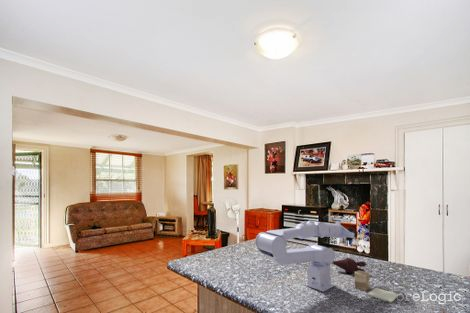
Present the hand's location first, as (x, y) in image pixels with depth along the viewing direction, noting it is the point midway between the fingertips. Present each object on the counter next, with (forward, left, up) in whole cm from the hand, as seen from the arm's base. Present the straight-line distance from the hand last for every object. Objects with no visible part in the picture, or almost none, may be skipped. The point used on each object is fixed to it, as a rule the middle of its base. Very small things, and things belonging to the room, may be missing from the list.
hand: (348, 231), depth 118 cm
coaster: (-11, -17, -19) cm, 28 cm away
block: (-10, -9, -19) cm, 24 cm away
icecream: (+3, +3, -20) cm, 20 cm away
